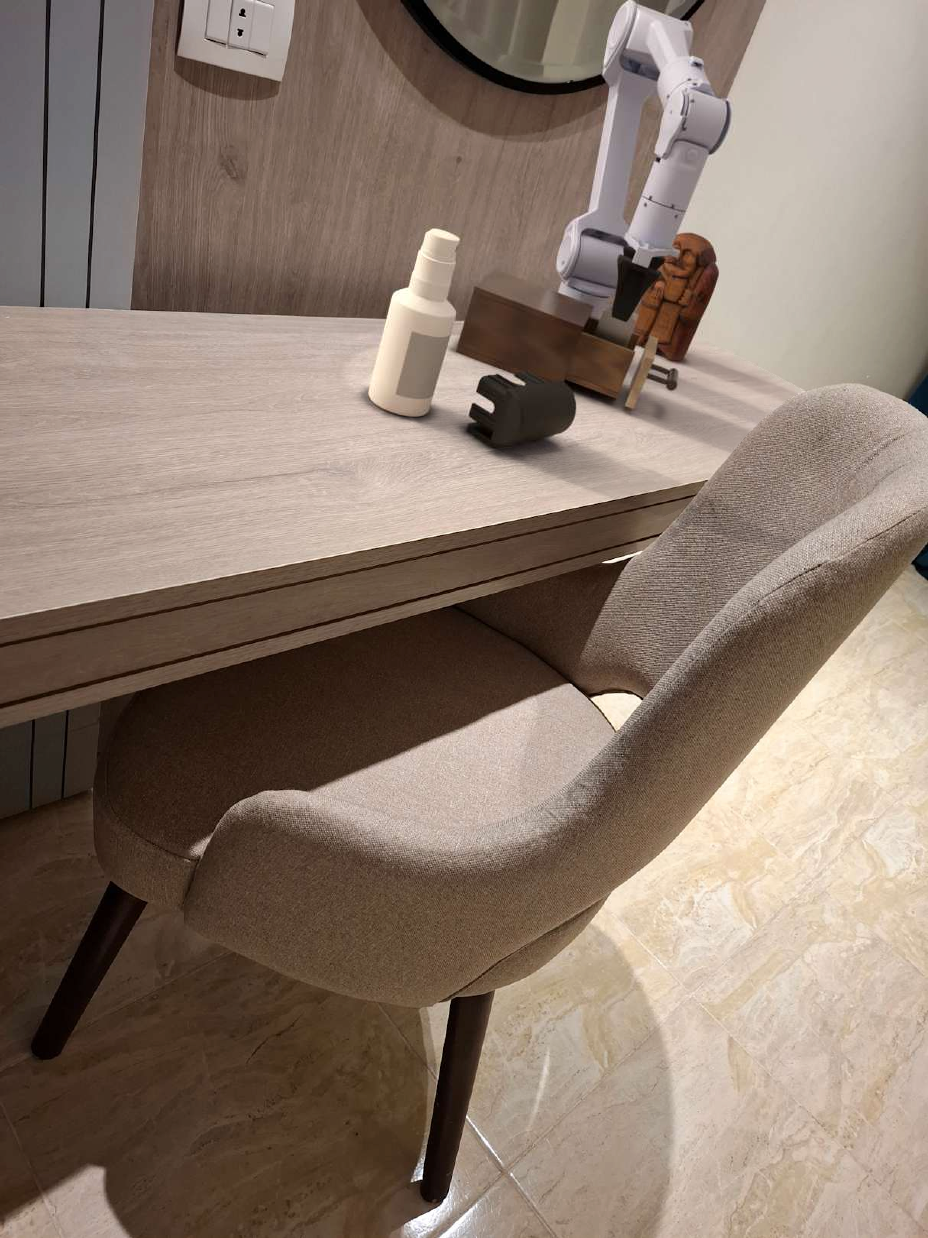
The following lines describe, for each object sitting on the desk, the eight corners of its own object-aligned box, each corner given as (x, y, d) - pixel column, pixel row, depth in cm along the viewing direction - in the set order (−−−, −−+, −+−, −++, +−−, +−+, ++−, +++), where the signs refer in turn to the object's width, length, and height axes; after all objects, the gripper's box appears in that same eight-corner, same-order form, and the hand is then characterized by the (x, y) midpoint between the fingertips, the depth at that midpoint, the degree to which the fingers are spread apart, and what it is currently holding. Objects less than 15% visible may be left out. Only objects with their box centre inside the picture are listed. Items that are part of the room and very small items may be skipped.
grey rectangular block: (583, 363, 123) (608, 298, 118) (614, 375, 123) (640, 310, 118) (580, 371, 120) (605, 304, 115) (611, 383, 120) (638, 317, 115)
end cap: (509, 461, 94) (530, 401, 90) (461, 429, 97) (479, 370, 94) (563, 449, 101) (585, 393, 98) (517, 419, 104) (536, 364, 101)
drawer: (667, 395, 126) (687, 348, 123) (663, 420, 117) (685, 371, 113) (548, 350, 127) (565, 303, 123) (535, 372, 118) (553, 322, 114)
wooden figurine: (614, 333, 149) (658, 220, 139) (633, 331, 154) (677, 222, 144) (673, 364, 144) (723, 249, 134) (691, 361, 149) (740, 250, 139)
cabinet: (572, 365, 128) (594, 305, 123) (560, 390, 117) (583, 326, 113) (476, 329, 128) (494, 268, 124) (455, 351, 118) (474, 286, 113)
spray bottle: (420, 424, 95) (470, 251, 85) (359, 402, 95) (402, 227, 85) (434, 404, 101) (482, 240, 91) (377, 383, 101) (418, 217, 91)
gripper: (694, 221, 103) (647, 336, 110) (695, 207, 115) (653, 311, 123) (636, 200, 103) (593, 316, 111) (643, 188, 116) (604, 293, 123)
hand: (621, 312), depth 117 cm, fingers open, 7 cm apart
